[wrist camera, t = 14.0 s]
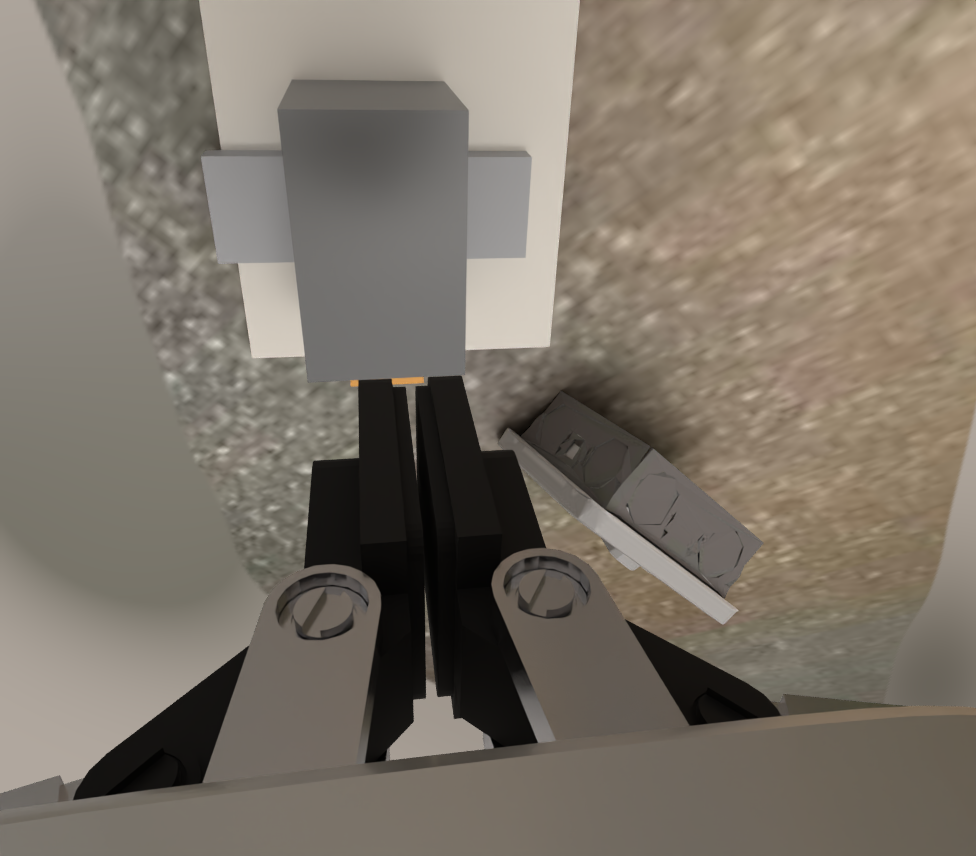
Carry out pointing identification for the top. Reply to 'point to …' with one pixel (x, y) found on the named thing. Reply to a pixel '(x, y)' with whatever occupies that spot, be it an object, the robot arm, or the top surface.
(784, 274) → the top surface
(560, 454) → the electrical switch
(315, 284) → the block
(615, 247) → the top surface
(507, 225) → the plate
